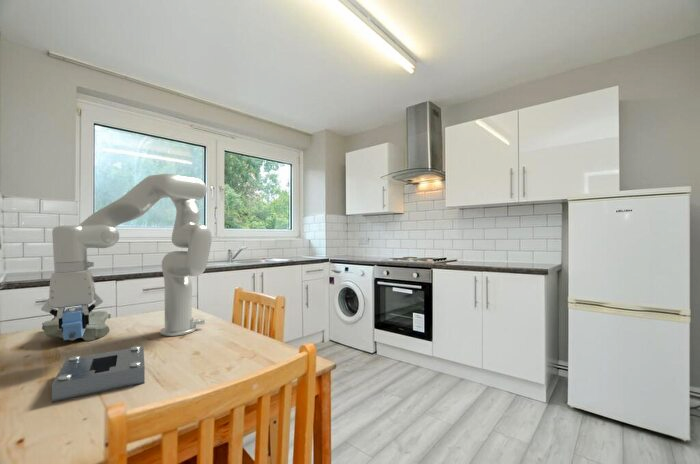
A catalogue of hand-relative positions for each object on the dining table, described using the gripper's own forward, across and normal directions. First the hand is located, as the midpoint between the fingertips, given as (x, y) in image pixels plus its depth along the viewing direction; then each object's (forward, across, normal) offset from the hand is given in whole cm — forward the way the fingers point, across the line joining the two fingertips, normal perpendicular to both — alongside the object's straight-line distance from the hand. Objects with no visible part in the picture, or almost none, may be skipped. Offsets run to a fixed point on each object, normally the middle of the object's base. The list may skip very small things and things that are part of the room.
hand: (74, 328), depth 97 cm
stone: (+12, +4, -35) cm, 38 cm away
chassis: (+10, -8, +17) cm, 21 cm away
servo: (+2, 0, 0) cm, 2 cm away
